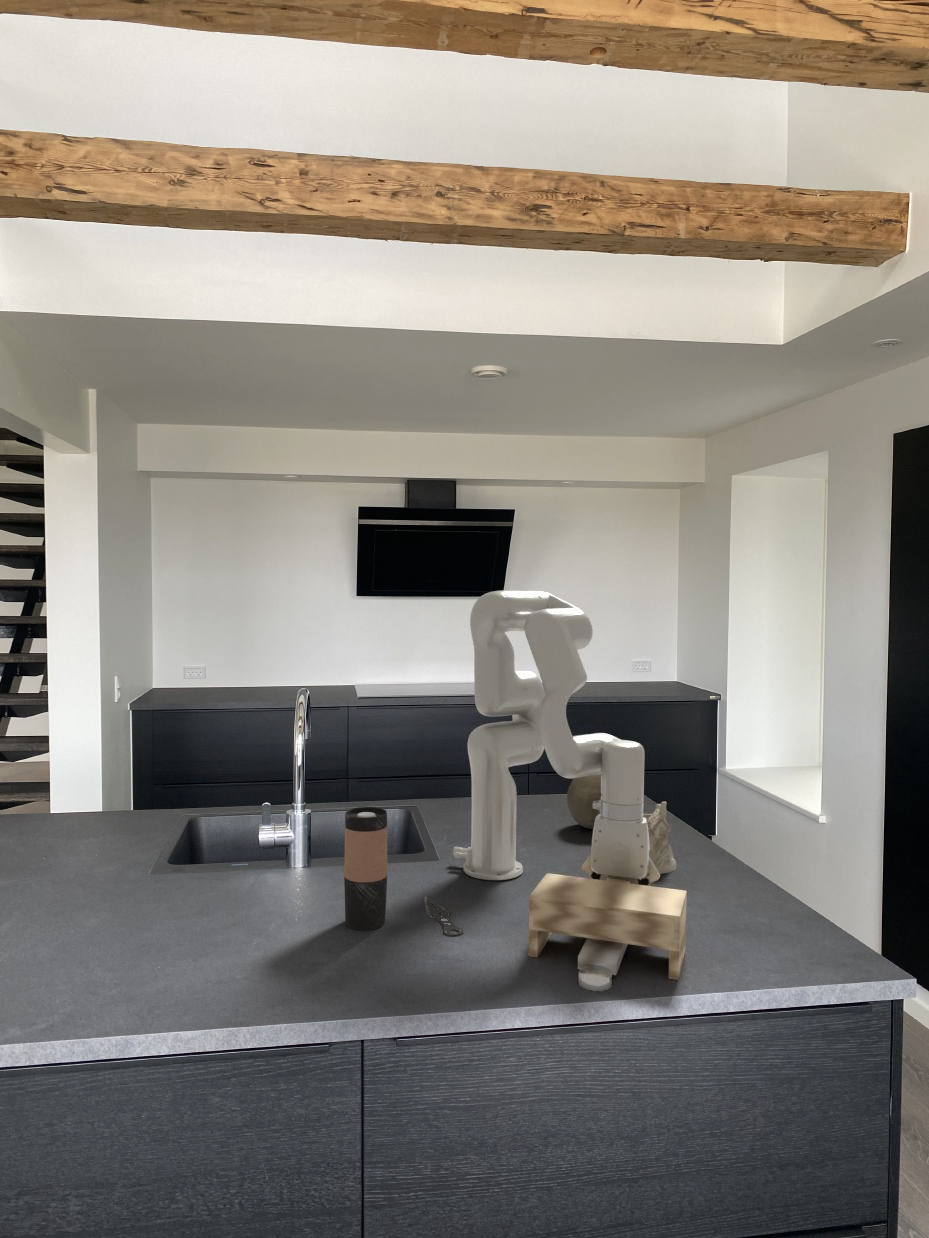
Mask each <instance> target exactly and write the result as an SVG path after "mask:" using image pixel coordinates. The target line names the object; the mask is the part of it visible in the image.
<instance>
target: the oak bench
mask: <svg viewBox="0 0 929 1238" xmlns="http://www.w3.org/2000/svg"><path fill="white" fill-rule="evenodd" d="M687 893H688V892H687V890H685V889H684V890H683V889H675V888H669V887H668V888H666V887H660V886H651V885H647V886H645V885H637V884H629V883H621V882H613V881H605V880H597V879H592V878H590V877H589V878H587V877H580V876H573V875H572V876H571V875H565V874H556V873H548V872H547V873H546V874H545V875H544V876H543V877H542V879H541V880H540V881H539V882H538V884H537V885H536V886H535V888H534V889H533V891H532V892H531V893H530V895H529V896H528V897H529V898H528V899H529V900H528V901H529V903H528V904H529V905H528V951H527V952H528V954H527V956H528V957H532V958H538V957H539V955H540V954H541V953H542V951H543V950H544V948H545V946H546V944H547V943H548V941H549V939H550V938H551V936H552V935H553V934H560V935H565V936H566V935H567V936H571V937H578V938H585V939H587V938H592V939H598V940H605V941H612V942H619V943H625V944H628V945H632V946H633V945H634V946H639V947H640V946H641V947H646V948H653V949H661V950H666V951H668V979H670V980H675V981H679V980H680V976H681V970H682V967H683V963H684V962H683V961H684V957H685V952H686V942H687V940H686V939H687V938H686V934H687V932H686V931H687V901H688V900H687V899H688V898H687Z"/></svg>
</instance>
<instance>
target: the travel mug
mask: <svg viewBox="0 0 929 1238" xmlns="http://www.w3.org/2000/svg"><path fill="white" fill-rule="evenodd" d="M344 826H345V827H344V867H343V868H344V869H343V870H344V871H343V872H344V873H343V878H344V879H343V880H344V881H343V883H344V885H343V886H344V917H345V918H344V921H345V926H346V927H348V928H349V929H351V930H355V931H372V930H377V929H379V928H382V927H383V926H384V925H385V923H386V917H387V916H386V914H387V913H386V912H387V890H388V889H387V888H388V811H387V810H385V808H382V807H381V808H380V807H375V806H362V807H355V808H351V809H348V810H346V811H345V813H344Z"/></svg>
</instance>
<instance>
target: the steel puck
mask: <svg viewBox="0 0 929 1238" xmlns="http://www.w3.org/2000/svg"><path fill="white" fill-rule="evenodd" d="M612 977H613V975H612V973H611V971H610V970H609V969H607V968H605V967H602V966H597V965H588V966H584V967H581V968H580V969H578V982H579V983H578V985H579V987H581V988H582V987H583V988H582V989H584V988H585V989H584V990H586V989H589V990H592V991H591V992H596V991H599V992H605V991H604V990H606V991H608V990H609V988H610V987H611V988H612V980H613V979H612ZM611 988H610V989H611ZM607 989H608V990H607ZM589 990H588V991H589Z"/></svg>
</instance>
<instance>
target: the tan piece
mask: <svg viewBox="0 0 929 1238" xmlns="http://www.w3.org/2000/svg"><path fill="white" fill-rule="evenodd" d="M607 881H613V882H621V883H629V884H631V878H627V877H619V876H611V875H609V876H608V878H607ZM585 939H586V940H585V941H584V944H583V945H582V948H581V949H580V952H579V954H578V955H577V970H579V969H580V968H581V967H584V966H588V965H597V966H602V967H605V968H607V969H609V970H610V971H611V973H612V976H617V974H618V971H619V969H620V966H621V963H622V961H623V958H624V955H625V952H626V950H627V947H628V945H629V944H625V943H619V942H612V941H605V940H598V939H592V938H585Z"/></svg>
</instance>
